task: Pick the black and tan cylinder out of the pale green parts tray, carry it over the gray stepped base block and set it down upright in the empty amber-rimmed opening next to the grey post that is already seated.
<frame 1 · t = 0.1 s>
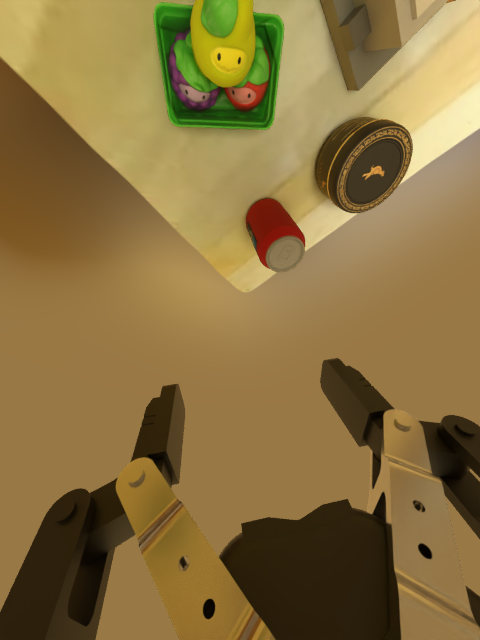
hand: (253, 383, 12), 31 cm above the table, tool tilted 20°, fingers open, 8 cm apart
fruit basket: (216, 68, 24), on the table
jar: (343, 159, 33), on the table
beverage can: (263, 217, 37), on the table
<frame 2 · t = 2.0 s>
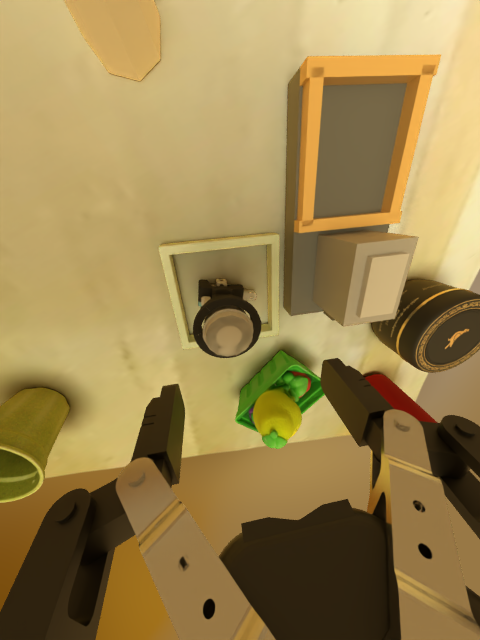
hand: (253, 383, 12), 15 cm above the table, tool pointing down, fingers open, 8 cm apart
fruit basket: (268, 375, 32), on the table
parts tray: (225, 291, 25), on the table
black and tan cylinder: (225, 290, 25), on the table
plant pot: (43, 402, 28), on the table
jar: (398, 309, 30), on the table
gray stepped base block: (330, 214, 23), on the table
pepper shaker: (123, 30, 15), on the table
beverage can: (366, 385, 37), on the table
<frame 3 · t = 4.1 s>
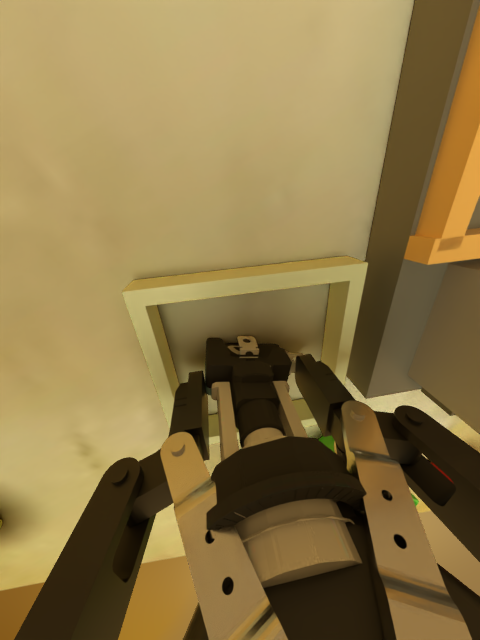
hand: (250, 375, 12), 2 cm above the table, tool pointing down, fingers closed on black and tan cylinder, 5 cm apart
parts tray: (250, 354, 14), on the table
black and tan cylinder: (251, 352, 15), on the table, touching gripper
gray stepped base block: (454, 221, 12), on the table
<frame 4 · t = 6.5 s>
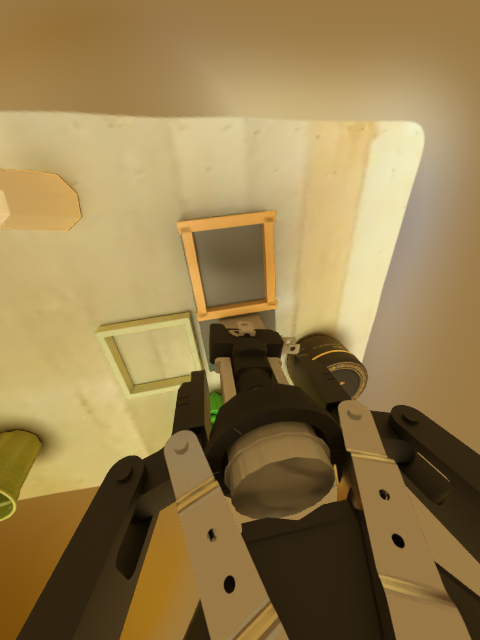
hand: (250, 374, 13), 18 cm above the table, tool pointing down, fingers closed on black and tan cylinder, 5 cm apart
parts tray: (157, 353, 32), on the table
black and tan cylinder: (249, 337, 16), point 14 cm above the table, touching gripper
plant pot: (20, 440, 35), on the table
jar: (310, 355, 37), on the table
gray stepped base block: (233, 296, 30), on the table
pepper shaker: (53, 202, 22), on the table
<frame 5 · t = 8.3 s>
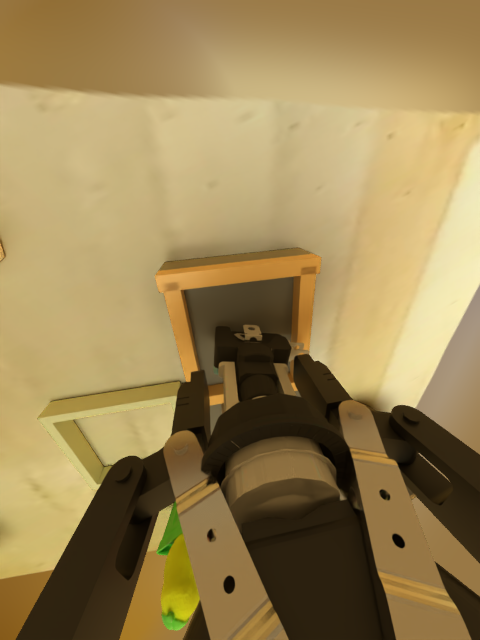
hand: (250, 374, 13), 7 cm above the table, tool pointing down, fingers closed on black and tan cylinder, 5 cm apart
fruit basket: (203, 487, 30), on the table
parts tray: (135, 430, 23), on the table
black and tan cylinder: (255, 341, 16), point 3 cm above the table, touching gripper, gray stepped base block
gray stepped base block: (243, 361, 21), on the table
when the fingers open (6 cm above the table, at t = 9.4 s): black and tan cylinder stays where it is, resting on gray stepped base block.
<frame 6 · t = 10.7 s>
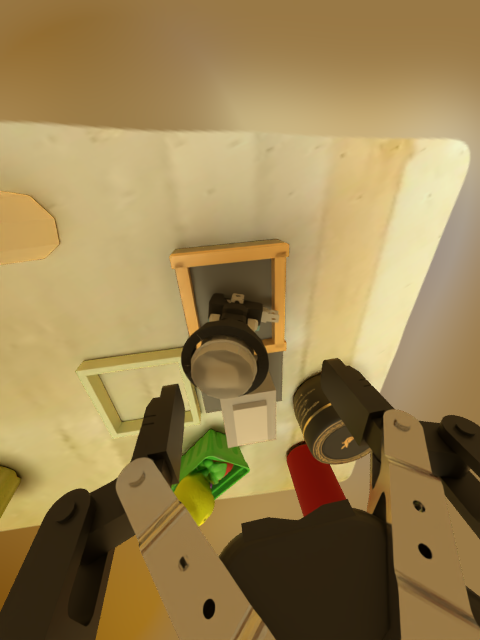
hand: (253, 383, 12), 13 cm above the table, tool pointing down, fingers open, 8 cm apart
fruit basket: (203, 446, 35), on the table
parts tray: (148, 390, 28), on the table
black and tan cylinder: (243, 307, 21), point 3 cm above the table, touching gray stepped base block
jar: (320, 393, 33), on the table
gray stepped base block: (235, 331, 26), on the table
pepper shaker: (26, 226, 19), on the table
beverage can: (302, 450, 39), on the table
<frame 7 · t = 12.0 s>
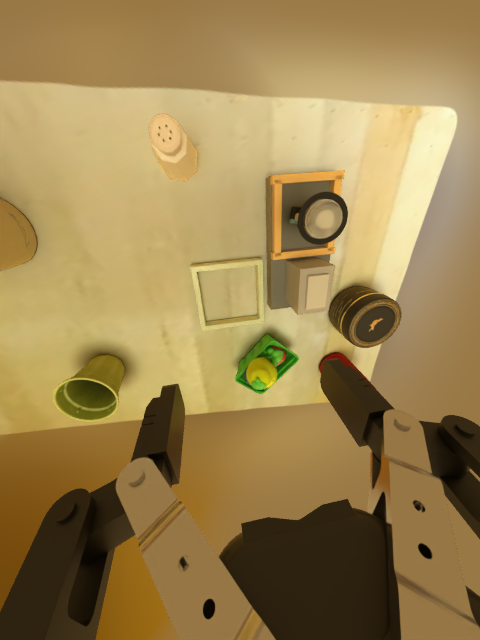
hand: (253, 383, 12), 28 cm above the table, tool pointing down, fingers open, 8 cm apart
fruit basket: (258, 352, 46), on the table
parts tray: (229, 293, 39), on the table
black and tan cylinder: (309, 218, 32), point 3 cm above the table, touching gray stepped base block
plant pot: (108, 365, 42), on the table
jar: (348, 306, 44), on the table
gray stepped base block: (295, 246, 37), on the table
pepper shaker: (178, 158, 29), on the table
beverage can: (331, 362, 50), on the table
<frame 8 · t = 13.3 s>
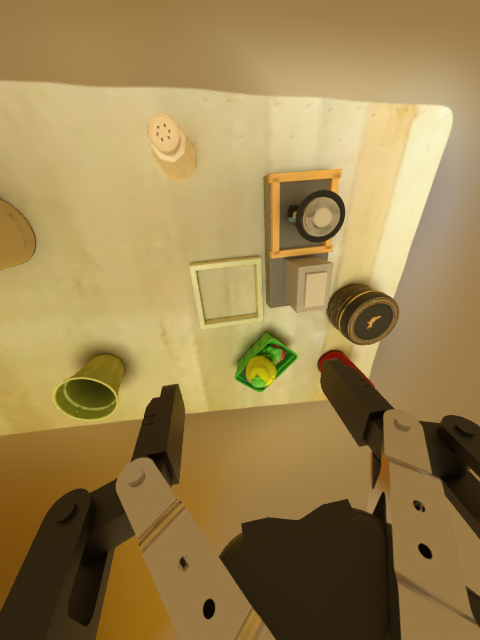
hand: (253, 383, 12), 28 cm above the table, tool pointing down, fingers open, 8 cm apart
fruit basket: (257, 350, 46), on the table
parts tray: (228, 292, 39), on the table
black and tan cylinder: (307, 217, 32), point 3 cm above the table, touching gray stepped base block
plant pot: (107, 365, 42), on the table
jar: (347, 304, 44), on the table
gray stepped base block: (293, 244, 37), on the table
pepper shaker: (176, 157, 29), on the table
beverage can: (330, 360, 51), on the table
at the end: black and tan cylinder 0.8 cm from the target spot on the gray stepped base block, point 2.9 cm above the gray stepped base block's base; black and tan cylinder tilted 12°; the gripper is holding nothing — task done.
